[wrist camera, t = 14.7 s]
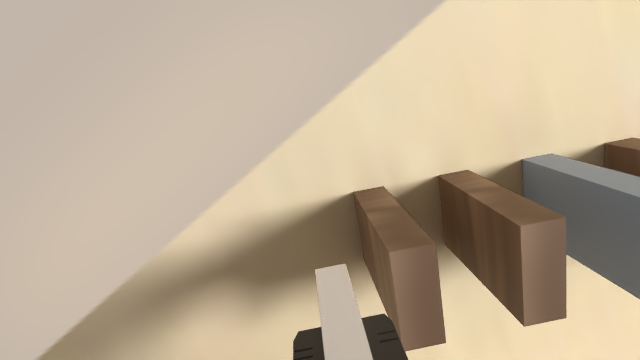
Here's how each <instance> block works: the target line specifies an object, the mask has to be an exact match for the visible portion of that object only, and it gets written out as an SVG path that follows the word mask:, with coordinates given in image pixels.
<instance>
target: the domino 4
mask: <svg viewBox="0 0 640 360" xmlns="http://www.w3.org/2000/svg"><path fill="white" fill-rule="evenodd" d="M604 168H607V169H611V170H615V171H619V172H622V173H626V174H630V175H634V176H638V177H640V139H638V138H630V139H624V140H619V141H614V142H609V143H605V145H604Z"/></svg>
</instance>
